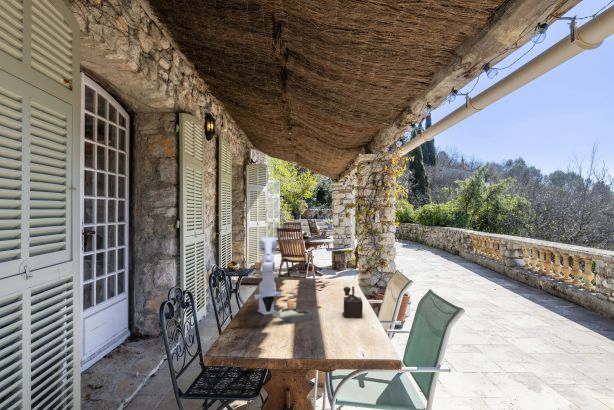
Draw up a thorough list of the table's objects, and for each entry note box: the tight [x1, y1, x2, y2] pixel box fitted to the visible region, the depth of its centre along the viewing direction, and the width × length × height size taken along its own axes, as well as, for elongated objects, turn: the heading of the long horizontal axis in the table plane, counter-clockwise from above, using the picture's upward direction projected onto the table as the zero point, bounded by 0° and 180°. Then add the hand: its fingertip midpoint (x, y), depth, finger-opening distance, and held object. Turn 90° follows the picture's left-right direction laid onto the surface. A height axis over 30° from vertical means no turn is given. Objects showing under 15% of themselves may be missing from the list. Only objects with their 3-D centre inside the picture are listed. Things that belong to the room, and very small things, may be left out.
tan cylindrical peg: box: [286, 300, 295, 311], centre depth 200 cm, size 4×4×7 cm
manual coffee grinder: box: [342, 286, 364, 319], centre depth 199 cm, size 16×11×18 cm
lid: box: [272, 309, 298, 319], centre depth 188 cm, size 7×12×3 cm, turn 124°
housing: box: [280, 307, 314, 324], centre depth 196 cm, size 16×14×4 cm
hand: (268, 311), depth 183 cm, fingers closed
